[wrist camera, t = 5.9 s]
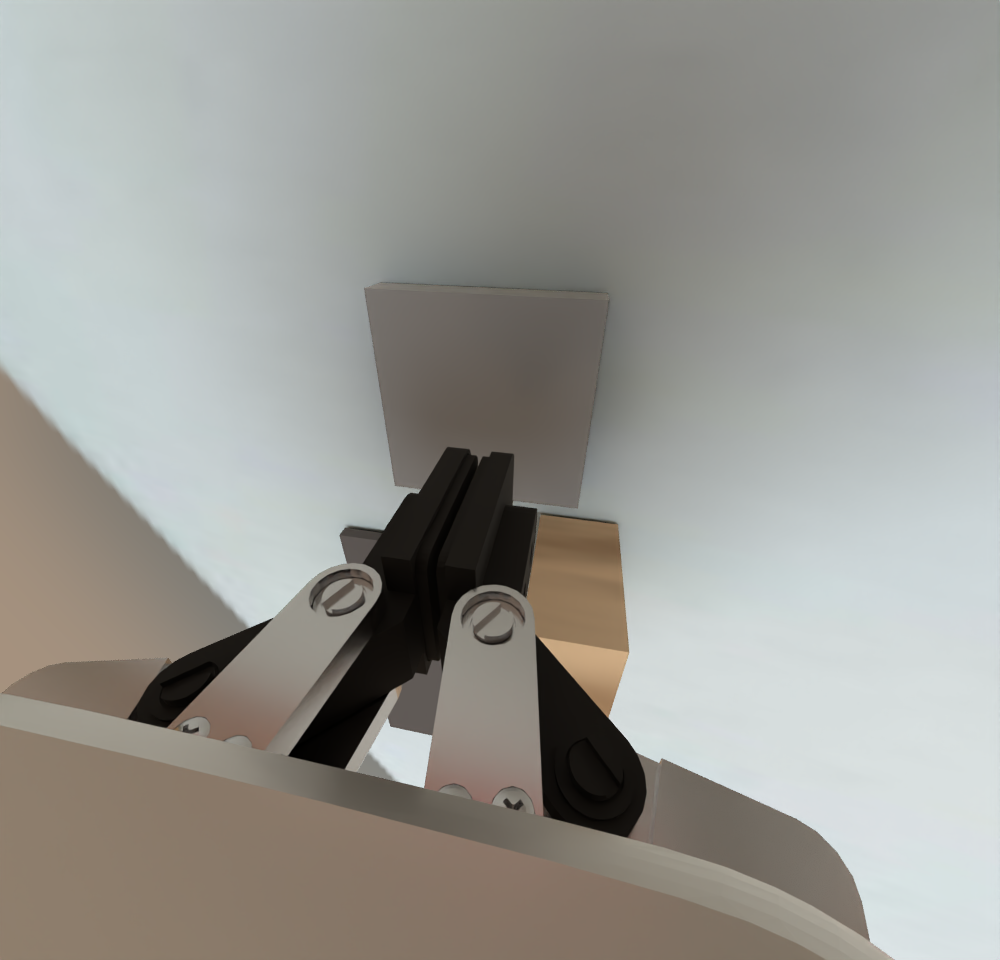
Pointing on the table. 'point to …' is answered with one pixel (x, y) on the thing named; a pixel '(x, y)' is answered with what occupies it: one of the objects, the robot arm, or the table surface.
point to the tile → (489, 379)
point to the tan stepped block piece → (581, 602)
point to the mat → (423, 690)
